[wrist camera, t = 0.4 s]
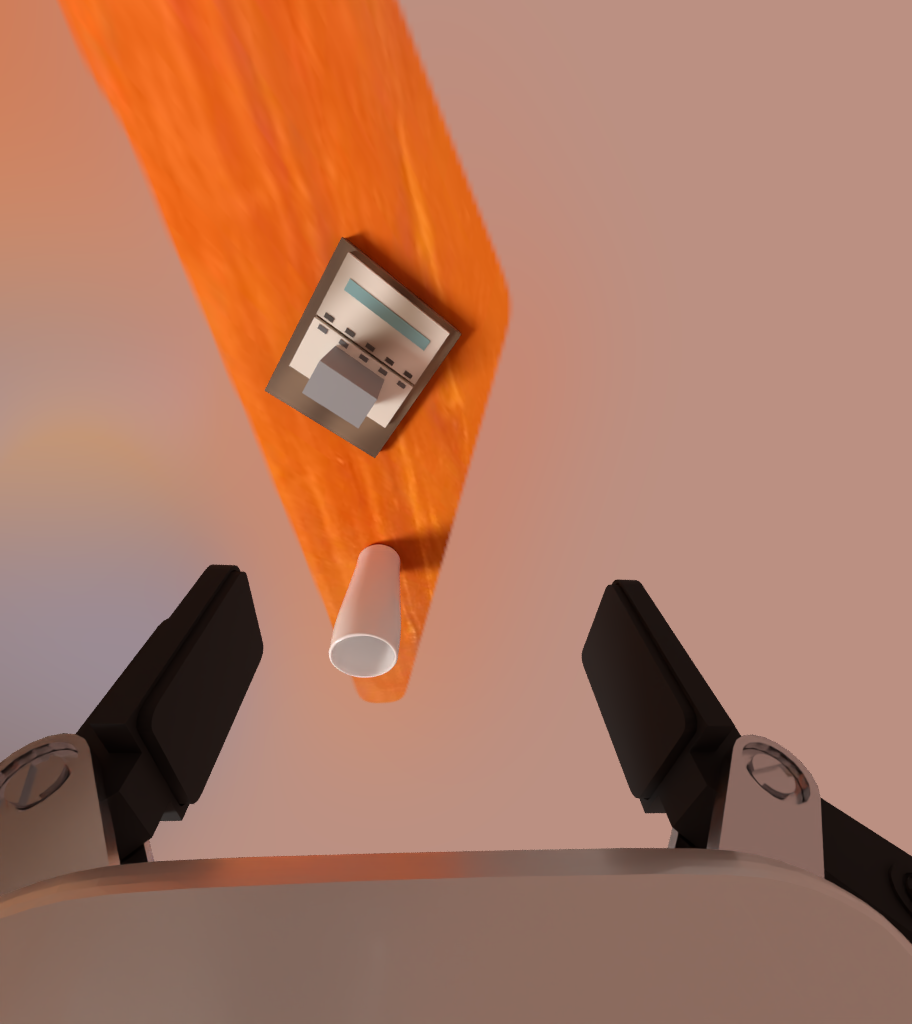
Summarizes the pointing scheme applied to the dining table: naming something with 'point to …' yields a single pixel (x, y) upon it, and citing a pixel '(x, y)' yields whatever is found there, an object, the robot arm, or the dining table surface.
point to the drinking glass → (369, 616)
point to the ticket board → (367, 339)
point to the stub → (347, 377)
